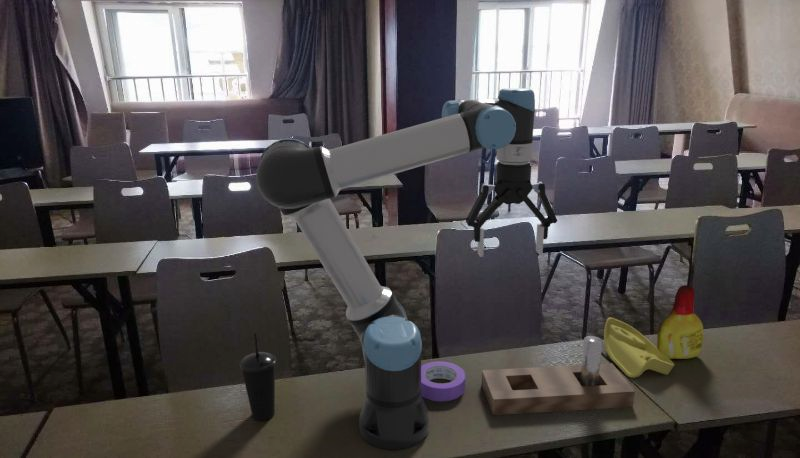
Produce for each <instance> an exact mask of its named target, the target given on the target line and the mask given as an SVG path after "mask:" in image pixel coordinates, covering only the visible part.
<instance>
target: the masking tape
mask: <svg viewBox="0 0 800 458" xmlns="http://www.w3.org/2000/svg"><path fill="white" fill-rule="evenodd" d="M436 379H443V380H444V379H445V380H448V381H450V382H445V383H440V382H433V381H432V380H436ZM465 388H466V373H465V371H464V370H463V368H462V367H460V366H458V365H457V364H456V363H452V362H447V361H439V360H438V361H431V362H427V363H424V364H423V365H421V395H422V398H425V399H427V400H430V401H434V402H450V401H452V400H453V401H454V400H456V399H458V398H460V397H461V396H463V395H464V393H465V391H466V389H465Z"/></svg>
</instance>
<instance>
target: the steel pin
mask: <svg viewBox="0 0 800 458" xmlns="http://www.w3.org/2000/svg"><path fill="white" fill-rule="evenodd" d="M582 344H583V345H582V346H583V347H582V355H581V356H582V357H581V364H580V365H581V376H580V385H581V386H582V387H583V386H598V380H599V370H600V364H601V359H602V350H603V339H602V338H600V337H598V336H594V335H586V336H585V337H584V338H583V343H582Z"/></svg>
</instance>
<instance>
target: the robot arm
mask: <svg viewBox="0 0 800 458" xmlns="http://www.w3.org/2000/svg"><path fill="white" fill-rule="evenodd" d="M535 96H536V95H535V92H534V90H532V89H531V88H524V87H520V88H519V87H514V88H513V87H510V88H501V89H500V90H499V91H498V96H497V98H490V99H460V98H459V99H456V100H447V101H445V103H444V104H443V106H442V110H441V118H437V119H433V120H431V121H427V122H424V123H420V124H416V125H413V126H409V127H405V128H402V129H398V130H395V131H391V132H387V133H384V134H380V135H377V136H374V137H370V138H366V139H362V140H359V141H356V142H353V143H349V144H346V145H342V146H337V147H334V148H332V149H328V148H326V147H324V146H323V145H322V146H321V145H320V146H317V147H314V148H312V147H310V146H309V145H308V144H306V143H305V142H303V141H301V140H299V139H296V138H281V139H279V140H276V141H274V142H272V143H271V144H270V145H268V146H266V148H265V149H264V150H263V152H262V154H261V155H260V158H259V163H258V166H257V169H256V175H255V181H256V187H257V189H258V192H259V193H260V195H261V197H263V198H264V200H265V201H267V202H268V203H269V204H271V205H272V206H275V207H277V208H278V210H279V211H280V212H281V214H282V216H284V217H287V218H291V219H294V221H295V223H296V224H297V226H298V228H299V229H300V231H301V232H302V234H303V235H304V237H305V238H306V241H307V242H308V244H309V245H310V247H311V248H312V250H313V252H314V253H315V255H316V257H317V258H318V260H319V261H320V263H321V264H322V266H323V268H324V269H325V271H326V273H327V275H328V276H329V278H330V279H331V282H332V283H333V284H334V286H335V288H336V289H337V291H338V292H339V294H340V296H341V297H342V299H343V301H344V302H345V304H346V306H347V308H346V310H345V316H346V318H347V320H348V322H349V324H350V325H351V326H352V328H353V330H354V331H355V333H356V335H357V337H358V338H359V341H360V344H361V349H362V354H363V360H364V368H365V369H364V370H365V372H364V374H365V392H366V393H365V394H366V395H365V398H364V402H363V405H362V408H361V411H360V414H359V419H358V421H359V422H358V423H359V424H358V427H359V428H358V429H359V433H360V435H361V437H362V438H363V440H365V442H367V443H368V444H370V445H372V446H373V447H377V448H380V449H384V450H401V449H403V450H404V449H406V448H410V447H414V446H415V445H417V444H419V443H421V442H422V441H423V440H425V438H426V437H427V435H428V434H429V431H430V414H429V412H428V409H427V406H426V404H425V401H424V399H423V398H424V397H423V396H422V395H421V366H422V350H423V341H422V338H421V332H420V330H419V328H418V327H417V325H416V324H415V323H414V322H412V321H410V320H408V317H407V316H408V315H407V312H406V310H405V309H404V307H403V305H402V304H401V303H400V302H399V301H398V300H397V298H396V297H395V295H394V293H393V291H392V290H391V289H390V288H389V287H387V286H383V285H381V284H380V282H379V280H378V279H377V278H376V275H375V274H374V272H373V270H372V269H371V266H370V265H369V264H368V261H367V260H366V259H365V256H364V254H363V253H362V251H361V250H360V248H359V246H358V244H357V243H356V241H355V240H354V238H353V236H352V234H351V232H350V231H349V229H348V228H347V226H346V224H345V222H344V220H343V219H342V217H341V215H340V214H339V211H338V210H337V209H336V207H335V205H334V204H333V201H332V200H331V199H332V198H336V197H337V196H338V194H339V193H340V191H341V190H343V189H347V188H351V187H354V186H358V185H361V184H364V183H368V182H371V181H373V180H378V179H381V178H384V177H388V176H391V175H395V174H398V173H403V172H405V171H408V170H412V169H415V168H418V167H422V166H425V165H428V164H429V165H430V164H432V163H436V162H439V161H443V160H446V159H450V158H453V157H458V156H461V155H463V154H467V153H471V152H475V151H478V150H483V149H488V150H496V160H497V163H496V164H495V182H494V184H487V183H485V182H483V183H481V185H480V192H479V193H478V196H477V198H476V199H475V202H474V203H473V205H472V208H471V209H470V211H469V213H468V215H467V217H466V219H465V223H466V225H467V226H468V227H471V228H473V240H474V242H475V243H477V255H478V256H479V258H482V257H484V248H485V247H484V244H485V243H484V242H485V241H484V240H485V238H484V237H485V229H484V226H483V225H484V224H486V222H487V221H488V220H489V219H490V217H491V216H492V215H493V214H494V213H495V212H496V211H497V210H498V208H500V207H501V206H502V205H503V204H505V205H511V204H514V205H520V204H522V203H524V204H525V205H526V206H527V208H528V209H529V210H530V211H531V212H532V213H533V214H534V216H535V217H536V218H537V219H538V221H539V222H540V223H537V224H536V238H535V239H536V240H535V241H536V242H535V252H536V253H537V254H538V255H543V250H544V240H547V239H548V234H549V227H551V224H557V223H558V218H557V216H556V214H555V212H554V210H553V207H552V205H551V203H550V200H549V199H548V196H547V194H546V185H545V184H544V183H543V182H542V181H540V180H539V181H538V180H537V182H534V183H532V181H531V180H532V178H531V177H532V163H531V161H532V159H533V137H534V124H535V113H536V98H535ZM532 190H533V191H534V192H535V194H537V196H538V198H539V201H540V202H541V203H540V204H541V205H542V207H543V210H544V211H545V214H546V215H547V217H545V216H544V214H543V212H541V211H540V210H539V209H538V207H537V206H536V205H535V203H533V201H532V200H531V199H530V197H529V195H530V193H531V192H532ZM492 192H494V193H495V196H494V197H493V198H492V200H491V202H489V204H488V205H487V206H486V207H485V209H483V211H482V212H481V210H482V208H483V206H484V204H485V202H486V201H487V198H488V196H489V195H490V194H492ZM480 212H481V213H480ZM479 213H480V214H479Z"/></svg>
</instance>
